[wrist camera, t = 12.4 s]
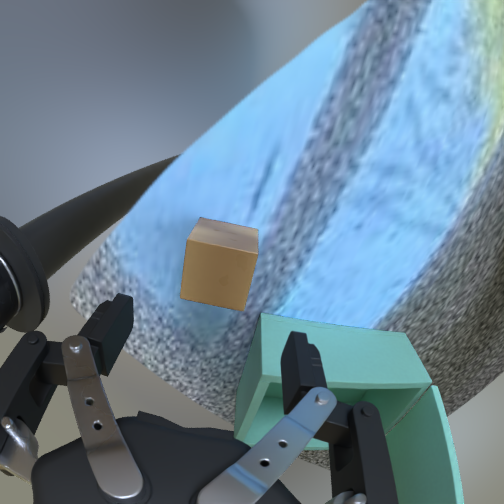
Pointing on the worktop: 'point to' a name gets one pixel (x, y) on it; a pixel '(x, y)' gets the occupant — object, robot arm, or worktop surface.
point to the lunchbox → (328, 373)
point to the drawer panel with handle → (425, 455)
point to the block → (219, 264)
